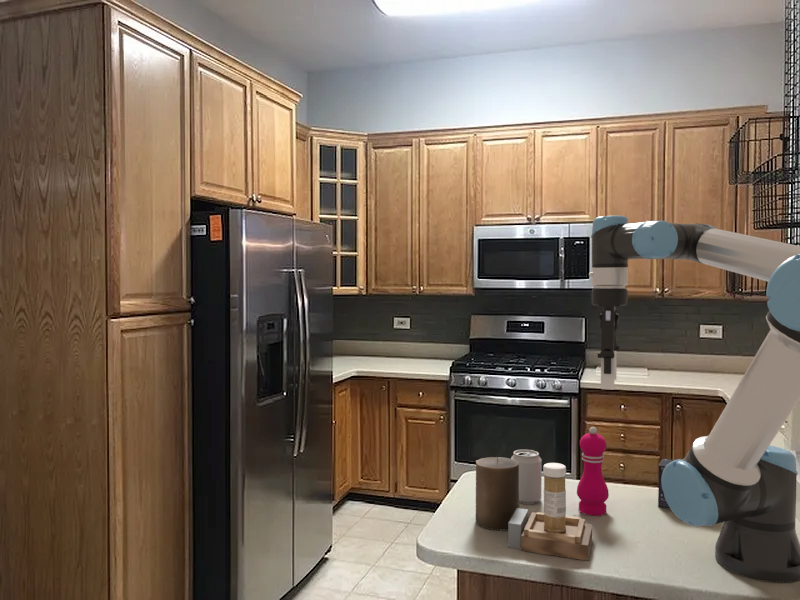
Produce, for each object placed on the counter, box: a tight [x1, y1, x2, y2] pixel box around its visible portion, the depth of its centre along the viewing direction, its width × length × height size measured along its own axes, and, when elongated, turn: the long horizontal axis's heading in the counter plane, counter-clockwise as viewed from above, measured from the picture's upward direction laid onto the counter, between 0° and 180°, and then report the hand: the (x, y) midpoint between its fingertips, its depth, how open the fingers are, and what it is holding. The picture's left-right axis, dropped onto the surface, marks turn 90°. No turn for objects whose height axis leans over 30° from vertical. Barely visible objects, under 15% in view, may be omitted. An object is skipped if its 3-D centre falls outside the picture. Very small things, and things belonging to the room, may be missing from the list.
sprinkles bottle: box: [542, 462, 567, 533], centre depth 131 cm, size 5×5×13 cm
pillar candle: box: [475, 456, 520, 531], centre depth 143 cm, size 10×10×15 cm
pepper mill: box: [576, 426, 610, 517], centre depth 150 cm, size 7×7×20 cm
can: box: [510, 449, 543, 505], centre depth 158 cm, size 8×8×12 cm
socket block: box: [520, 511, 593, 561], centre depth 131 cm, size 13×11×4 cm
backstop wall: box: [507, 507, 529, 550], centre depth 134 cm, size 2×9×5 cm, turn 159°
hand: (608, 384), depth 140 cm, fingers open, 13 cm apart
